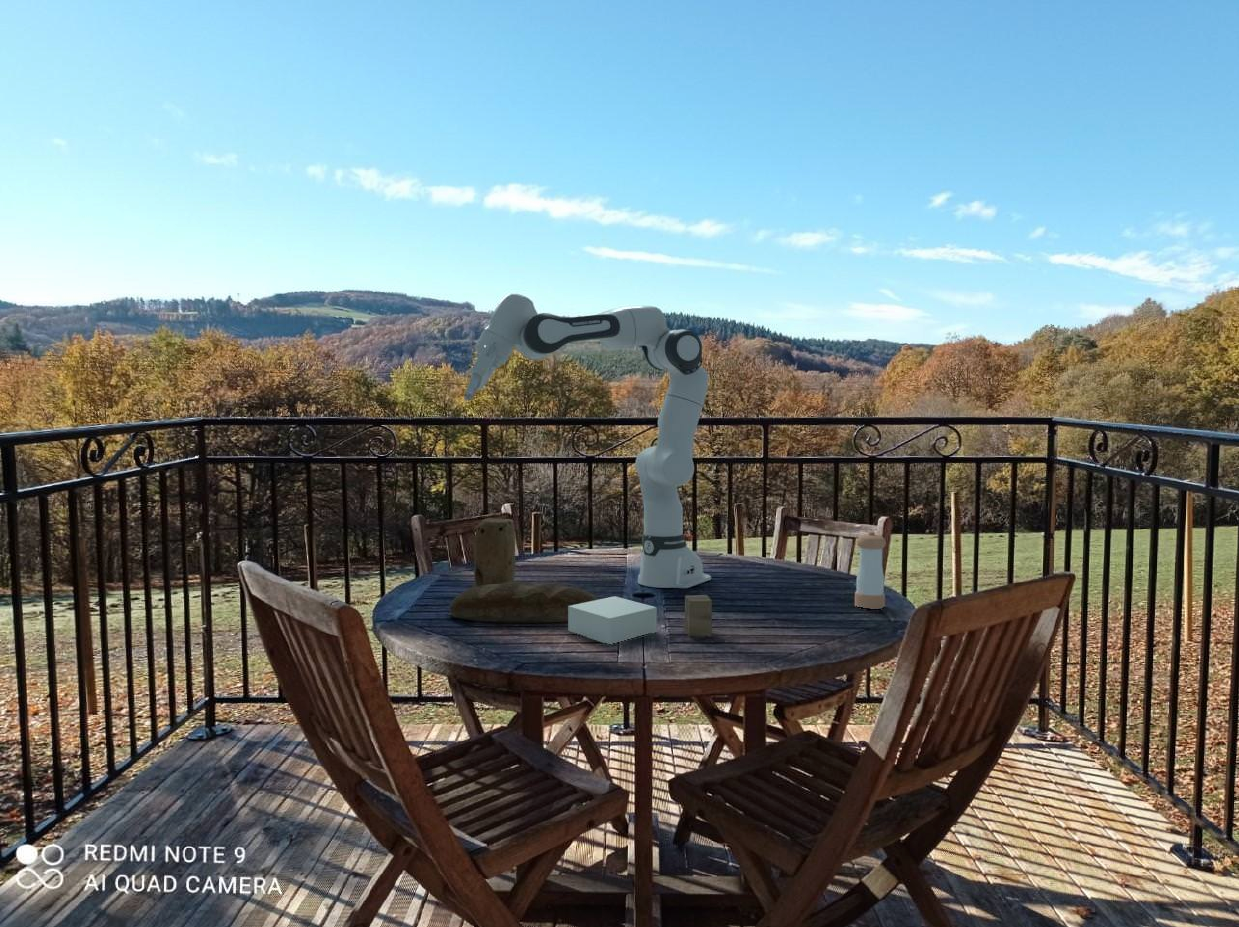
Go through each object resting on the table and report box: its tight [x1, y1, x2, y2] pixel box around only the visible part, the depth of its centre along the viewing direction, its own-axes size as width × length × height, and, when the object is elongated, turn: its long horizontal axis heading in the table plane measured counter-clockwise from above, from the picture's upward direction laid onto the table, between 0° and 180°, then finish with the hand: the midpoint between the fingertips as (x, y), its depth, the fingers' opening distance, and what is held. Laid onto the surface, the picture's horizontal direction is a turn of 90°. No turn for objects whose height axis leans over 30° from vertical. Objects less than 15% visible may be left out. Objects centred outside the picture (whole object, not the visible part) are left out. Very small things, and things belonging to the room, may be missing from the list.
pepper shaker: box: [854, 530, 887, 609], centre depth 198 cm, size 7×7×19 cm
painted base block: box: [567, 595, 658, 645], centre depth 176 cm, size 14×14×6 cm
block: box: [473, 517, 516, 587], centre depth 212 cm, size 11×8×20 cm
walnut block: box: [684, 594, 713, 637], centre depth 175 cm, size 5×5×8 cm
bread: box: [449, 580, 599, 624], centre depth 189 cm, size 16×36×8 cm, turn 89°
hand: (467, 396), depth 200 cm, fingers open, 8 cm apart
